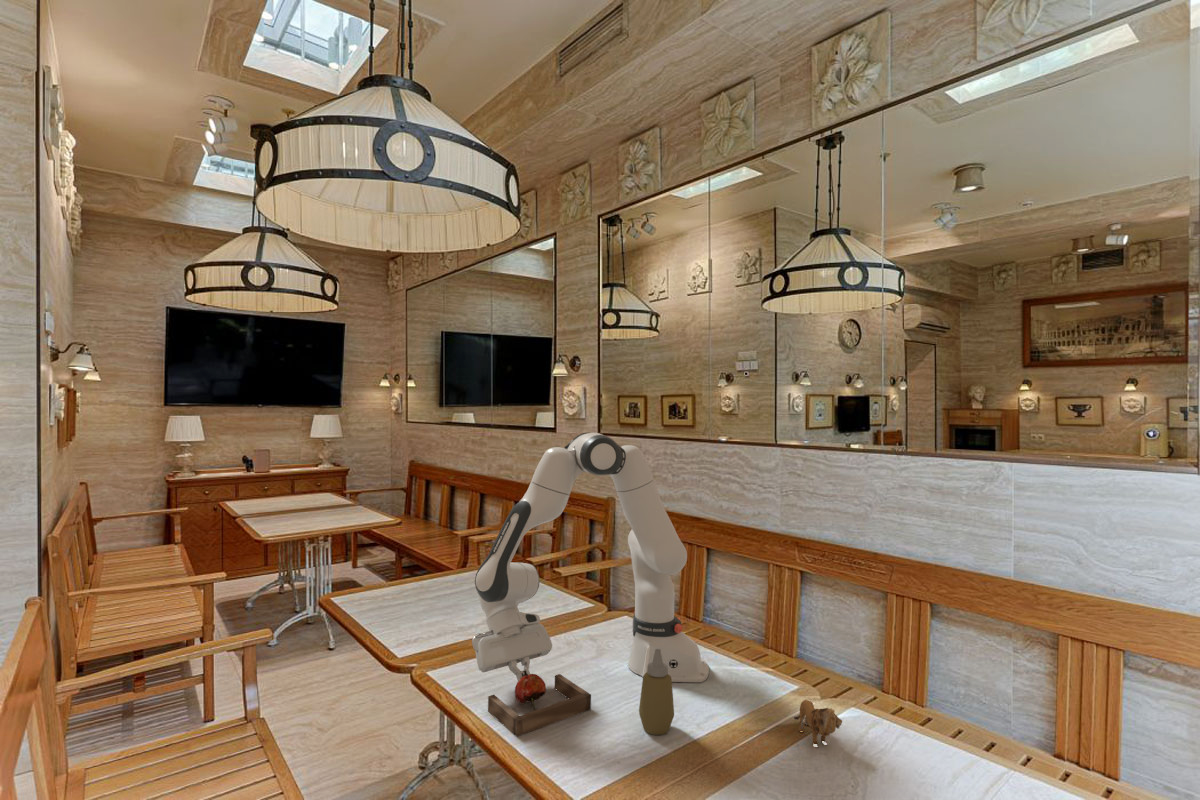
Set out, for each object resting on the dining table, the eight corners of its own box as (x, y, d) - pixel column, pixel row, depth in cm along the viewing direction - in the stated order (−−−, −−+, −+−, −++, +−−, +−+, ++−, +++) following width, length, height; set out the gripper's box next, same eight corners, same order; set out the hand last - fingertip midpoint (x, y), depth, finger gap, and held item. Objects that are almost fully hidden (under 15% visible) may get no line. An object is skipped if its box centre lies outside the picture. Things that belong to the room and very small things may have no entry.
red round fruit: (546, 715, 146) (538, 675, 153) (552, 702, 142) (544, 661, 149) (516, 720, 144) (510, 679, 151) (522, 707, 139) (515, 665, 146)
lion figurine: (845, 754, 129) (845, 712, 129) (824, 757, 127) (824, 715, 127) (803, 719, 143) (804, 681, 143) (783, 722, 141) (784, 683, 141)
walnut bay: (487, 710, 143) (488, 696, 143) (559, 687, 156) (559, 673, 156) (516, 736, 132) (517, 720, 132) (590, 709, 145) (591, 694, 145)
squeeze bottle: (672, 740, 132) (674, 659, 132) (636, 735, 134) (637, 655, 134) (675, 721, 140) (677, 644, 140) (640, 717, 142) (642, 641, 142)
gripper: (474, 629, 149) (491, 684, 142) (543, 613, 162) (563, 663, 154) (465, 641, 153) (482, 695, 145) (534, 625, 165) (553, 674, 158)
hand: (524, 678), depth 150 cm, fingers closed
